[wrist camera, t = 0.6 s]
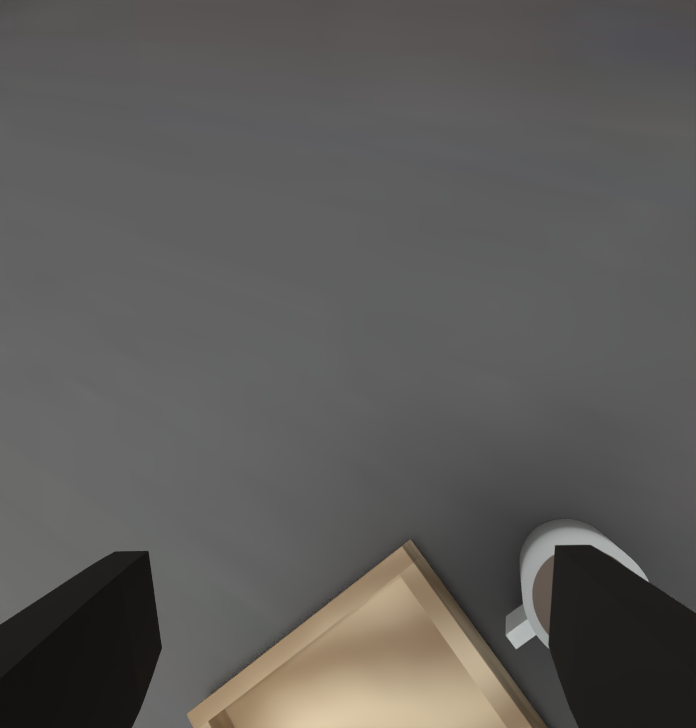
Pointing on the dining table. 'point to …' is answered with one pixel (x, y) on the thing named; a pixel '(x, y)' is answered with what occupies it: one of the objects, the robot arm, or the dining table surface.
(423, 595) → the tray
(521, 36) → the dining table surface
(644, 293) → the dining table surface
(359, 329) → the dining table surface
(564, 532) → the espresso cup
